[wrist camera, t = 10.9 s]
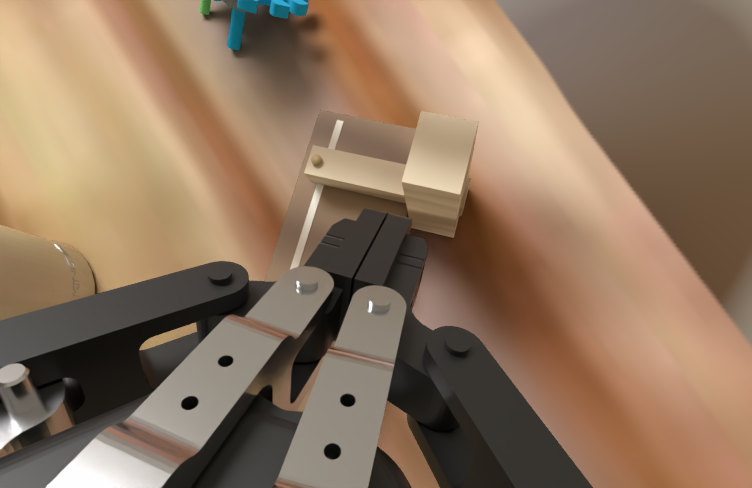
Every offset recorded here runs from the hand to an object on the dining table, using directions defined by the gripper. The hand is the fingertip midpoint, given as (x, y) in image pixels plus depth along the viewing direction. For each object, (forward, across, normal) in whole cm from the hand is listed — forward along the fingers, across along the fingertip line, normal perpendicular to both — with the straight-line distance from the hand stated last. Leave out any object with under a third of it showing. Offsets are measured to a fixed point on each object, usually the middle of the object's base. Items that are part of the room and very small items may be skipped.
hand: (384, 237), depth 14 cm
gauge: (+17, +3, +8) cm, 19 cm away
